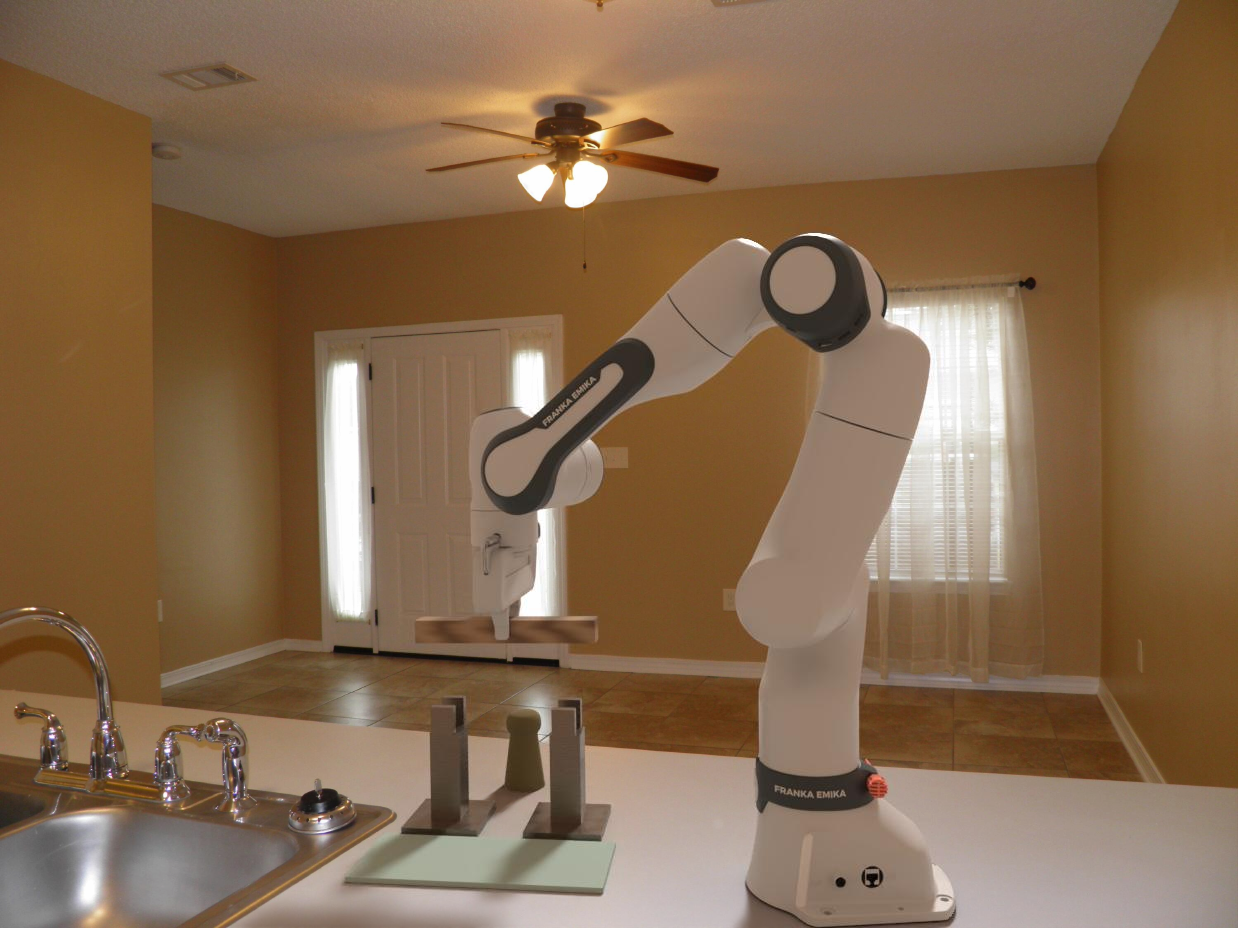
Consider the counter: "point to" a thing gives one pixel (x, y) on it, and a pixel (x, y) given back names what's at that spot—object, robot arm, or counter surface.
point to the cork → (524, 752)
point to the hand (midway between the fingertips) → (507, 635)
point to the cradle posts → (468, 817)
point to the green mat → (486, 863)
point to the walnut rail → (521, 629)
